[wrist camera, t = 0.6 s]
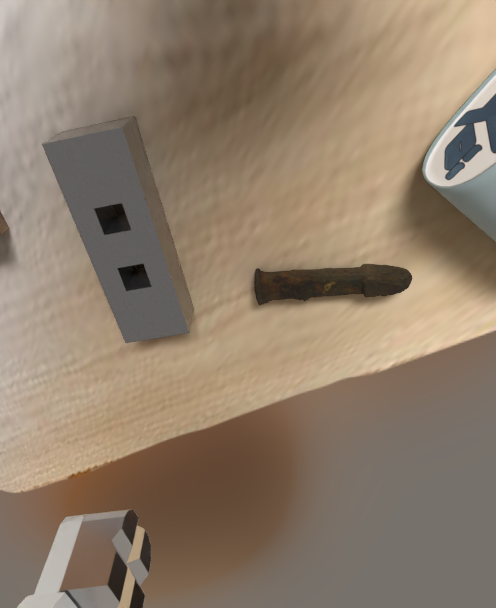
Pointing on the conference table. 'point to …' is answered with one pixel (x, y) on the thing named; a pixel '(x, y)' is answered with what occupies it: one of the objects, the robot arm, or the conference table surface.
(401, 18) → the conference table surface
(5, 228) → the holder
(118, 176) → the grey slotted block
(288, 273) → the hand tool
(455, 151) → the grey rounded wedge
